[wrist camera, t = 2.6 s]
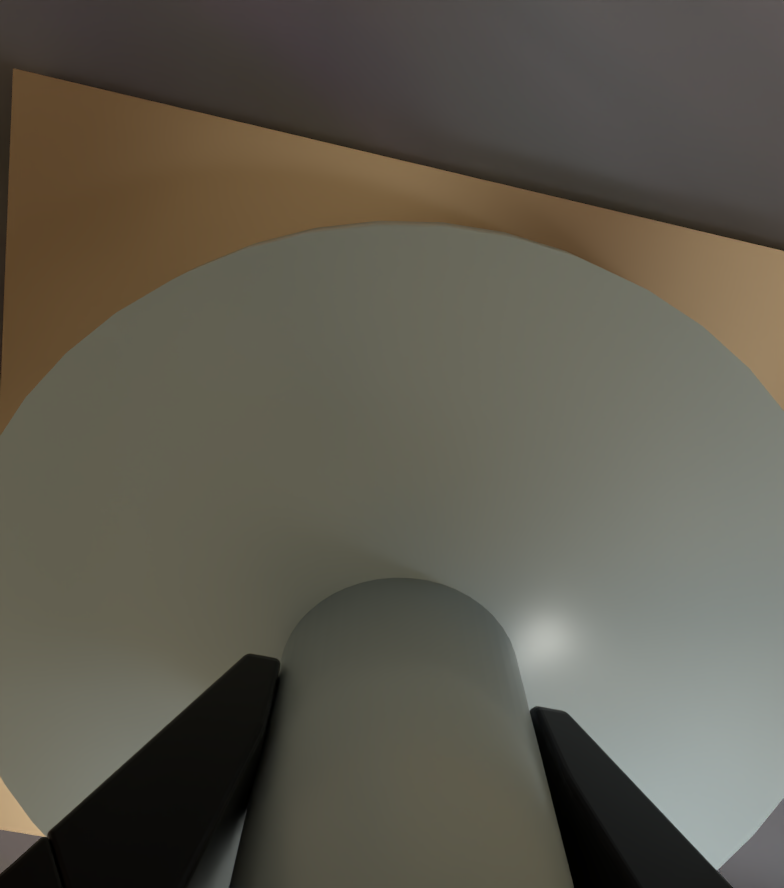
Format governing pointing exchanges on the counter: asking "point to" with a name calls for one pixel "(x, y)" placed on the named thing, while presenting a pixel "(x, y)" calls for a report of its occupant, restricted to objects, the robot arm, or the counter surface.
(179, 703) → the lid
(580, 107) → the counter surface
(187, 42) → the counter surface
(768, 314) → the mat
